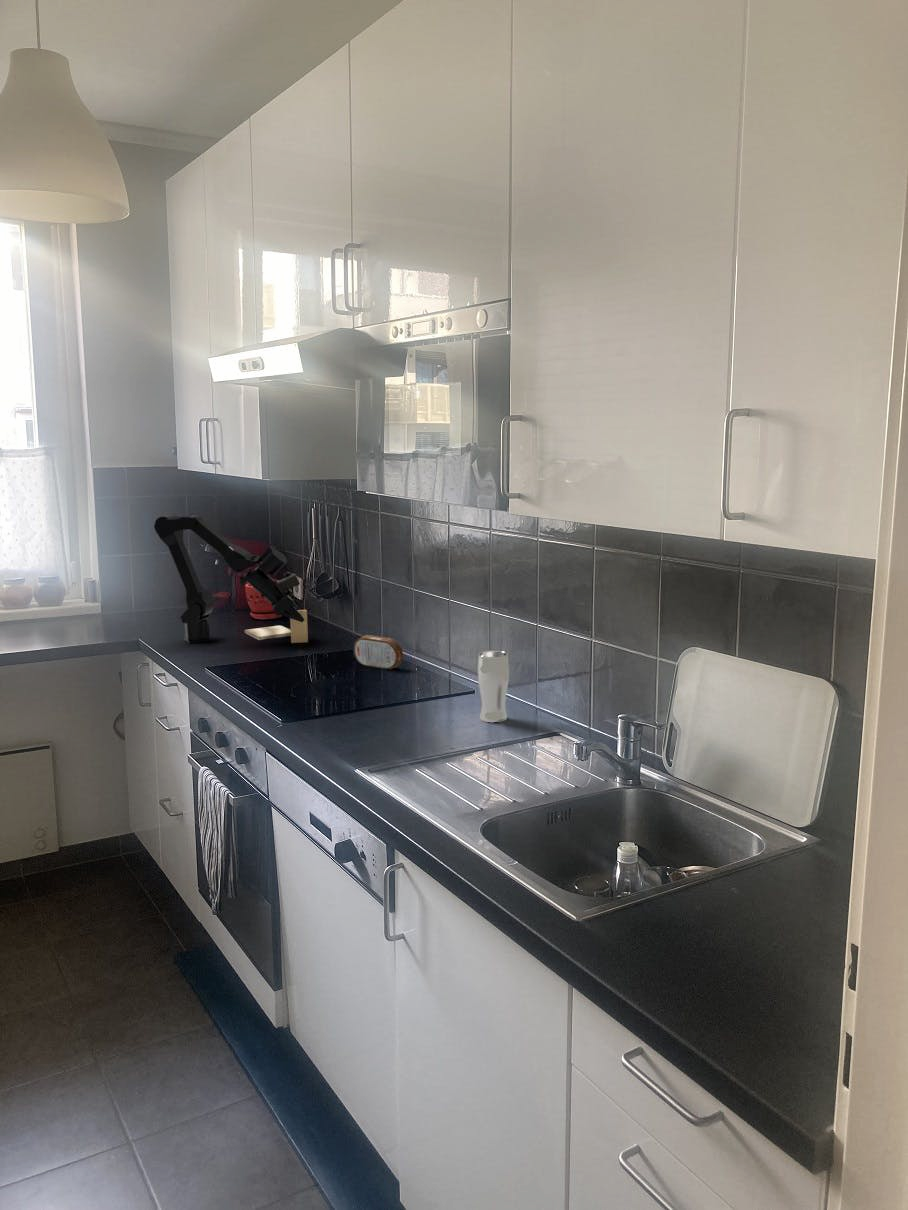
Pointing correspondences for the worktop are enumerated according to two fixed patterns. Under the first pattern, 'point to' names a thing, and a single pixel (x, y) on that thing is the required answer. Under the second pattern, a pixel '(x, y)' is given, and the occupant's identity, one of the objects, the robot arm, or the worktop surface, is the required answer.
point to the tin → (378, 652)
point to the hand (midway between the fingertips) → (303, 619)
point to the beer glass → (493, 684)
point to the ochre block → (299, 629)
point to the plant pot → (259, 604)
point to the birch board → (269, 632)
